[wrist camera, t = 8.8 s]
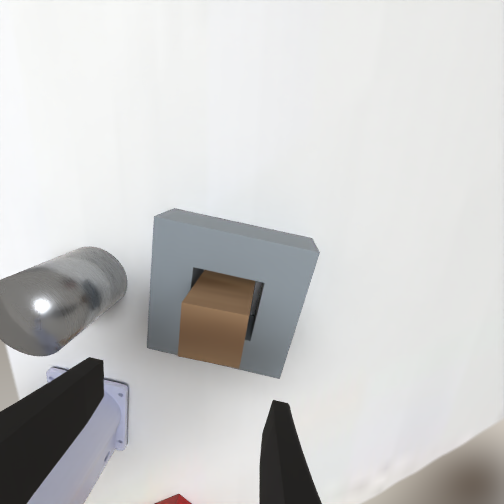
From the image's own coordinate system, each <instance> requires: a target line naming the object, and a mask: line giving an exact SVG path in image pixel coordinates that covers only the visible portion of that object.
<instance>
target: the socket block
mask: <svg viewBox="0 0 504 504" xmlns="http://www.w3.org/2000/svg"><path fill="white" fill-rule="evenodd" d="M319 253H320V252H319V250H318V248H317V246H316V245H315V243H314V241H313V239H312V238H308V237H303V236H299V235H294V234H289V233H285V232H280V231H276V230H271V229H266V228H262V227H257V226H253V225H248V224H243V223H239V222H234V221H230V220H225V219H221V218H216V217H211V216H207V215H202V214H198V213H193V212H188V211H184V210H179V209H175V208H174V209H172V210H169V211H167V212H164V213H161V214H159V215H156V216H154V227H153V245H152V263H151V282H150V300H149V318H148V336H147V348H149V349H154V350H158V351H162V352H166V353H171V354H175V355H178V346H179V332H180V317H181V303H182V301H183V300H184V298H185V297H186V296H187V294H188V293H189V291H190V290H191V288H192V287H193V286H194V284H195V283H196V281H197V280H198V279H199V277H200V276H201V274H202V273H203V272H204V270H209V271H213V272H218V273H222V274H227V275H231V276H236V277H240V278H245V279H249V280H254V281H258V282H262V285H261V290H260V294H259V298H258V302H257V306H256V310H255V315H254V316H253V315H249V320H248V325H247V330H246V336H245V341H244V346H243V352H242V357H241V362H240V367H239V369H240V370H244V371H248V372H252V373H257V374H261V375H265V376H270V377H274V378H278V379H280V376H281V373H282V370H283V366H284V363H285V360H286V357H287V354H288V351H289V348H290V344H291V341H292V338H293V335H294V332H295V329H296V326H297V322H298V319H299V316H300V313H301V310H302V307H303V304H304V300H305V297H306V294H307V291H308V288H309V285H310V282H311V278H312V275H313V272H314V269H315V266H316V263H317V260H318V256H319ZM218 365H219V364H218ZM222 366H224V365H222ZM227 367H229V366H227ZM231 368H234V367H231ZM235 369H238V368H235Z"/></svg>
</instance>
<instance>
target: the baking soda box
mask: <svg viewBox="0 0 504 504" xmlns="http://www.w3.org/2000/svg"><path fill="white" fill-rule="evenodd" d="M155 504H191V503H190V502H189V501H187V500H186V499H185V498H184V497H182V496H181V495H180V494H177V495H175V496H172V497H170V498H167V499H165V500H162V501H160V502H158V503H155Z"/></svg>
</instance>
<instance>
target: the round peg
mask: <svg viewBox="0 0 504 504" xmlns="http://www.w3.org/2000/svg"><path fill="white" fill-rule="evenodd" d="M126 290H127V276H126V273H125V271H124V268H123V267H122V265H121V264H120V263H119V261H118V260H117V259H116V258H115V257H114V256H113V255H111V254H110V253H108V252H107V251H105V250H102V249H100V248H96V247H82V248H79V249H76V250H74V251H71V252H69V253H66V254H64V255H61V256H59V257H56V258H54V259H51V260H49V261H46V262H44V263H41V264H39V265H36V266H34V267H31V268H29V269H26V270H24V271H22V272H19V273H17V274H14V275H12V276H9V277H7V278H4V279H2V280H0V339H1V340H2V341H3V342H4V343H5V344H7V345H8V346H10V347H12V348H13V349H15V350H17V351H19V352H22V353H25V354H28V355H33V356H48V355H51V354H54V353H56V352H57V351H59V350H60V349H61V348H62V347H64V346H65V345H66V344H67V343H68V342H70V341H71V340H72V339H73V338H74V337H76V336H77V335H78V334H79V333H80V332H82V331H83V330H84V329H85V328H86V327H88V326H89V325H90V324H91V323H92V322H94V321H95V320H96V319H97V318H98V317H100V316H101V315H102V314H103V313H104V312H106V311H107V310H108V309H109V308H110V307H112V306H113V305H114V304H115V303H116V302H118V301H119V300H120V299H121V298H122V297H123V296H124V294H125V292H126Z"/></svg>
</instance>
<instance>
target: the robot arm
mask: <svg viewBox="0 0 504 504" xmlns="http://www.w3.org/2000/svg"><path fill="white" fill-rule="evenodd" d="M46 374H47V381H48V383H47V384H46V385H44V386H43V387H41V388H39V389H38V390H36V391H34V392H33V393H31V394H29V395H28V396H26V397H25V398H23V399H21V400H20V401H18V402H17V403H15V404H13V405H11V406H9V407H8V408H6V409H4V410H3V411H1V412H0V504H84V502H85V501H86V499H87V497H88V495H89V494H90V492H91V490H92V488H93V487H94V485H95V483H96V481H97V480H98V478H99V476H100V474H101V473H102V471H103V469H104V467H105V466H106V464H107V462H108V460H109V459H110V457H111V455H112V454H113V452H114V450H115V449H117V450H124V449H125V448H126V446H127V405H128V388H127V386H126V385H124V384H120V383H116V382H112V381H108V380H104V371H103V360H99V359H94V358H90V357H89V358H87V359H86V360H84V361H82V362H81V363H79V364H77V365H76V366H74V367H73V368H71V369H70V370H68V371H65V370H61V369H57V368H50V369H49V370H48V371H47V372H46ZM260 504H322V503H321V501H320V498H319V496H318V493H317V490H316V488H315V485H314V482H313V480H312V477H311V474H310V471H309V469H308V466H307V463H306V460H305V457H304V454H303V451H302V448H301V445H300V442H299V439H298V435H297V432H296V429H295V425H294V422H293V418H292V414H291V410H290V406H289V404H288V403H284V402H280V401H276V400H273V401H272V405H271V408H270V411H269V414H268V417H267V421H266V424H265V427H264V430H263V433H262V444H261V456H260Z"/></svg>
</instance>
